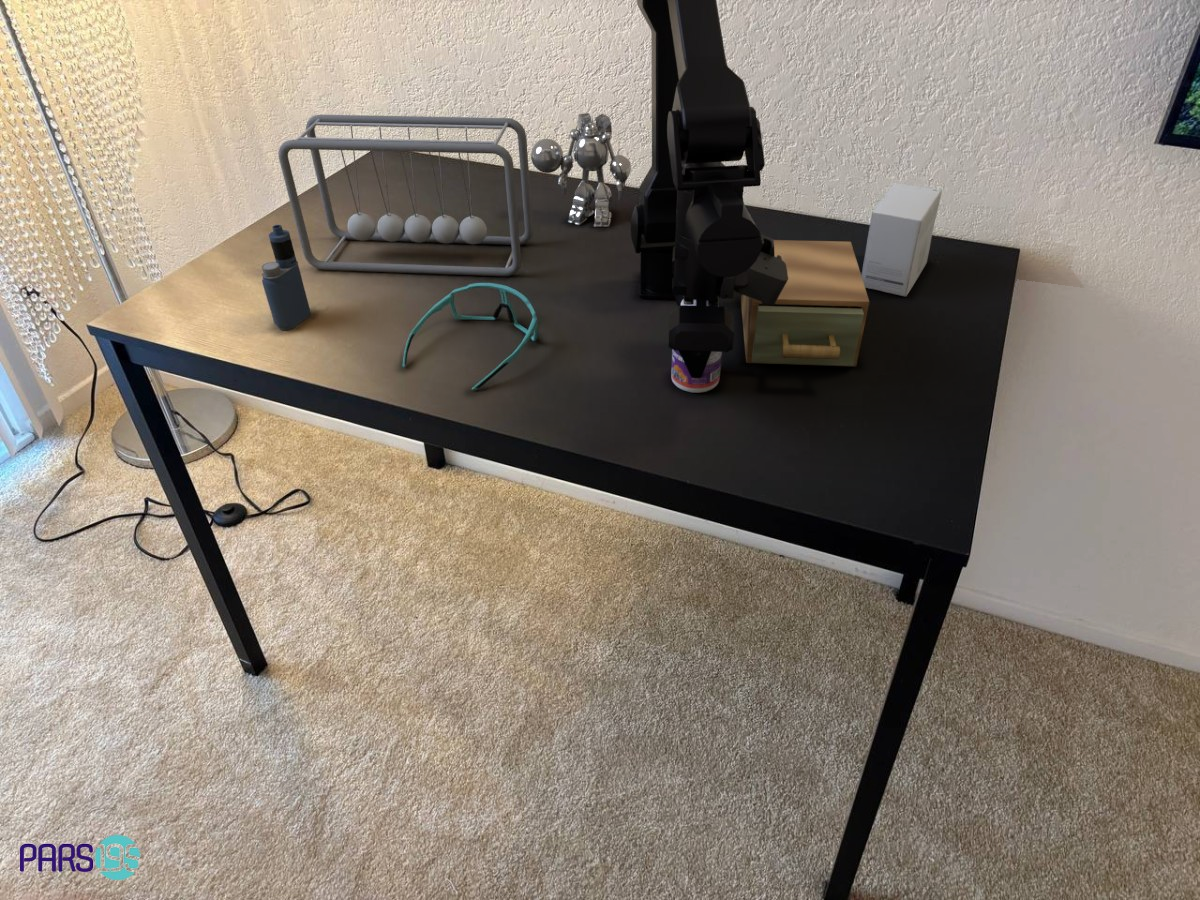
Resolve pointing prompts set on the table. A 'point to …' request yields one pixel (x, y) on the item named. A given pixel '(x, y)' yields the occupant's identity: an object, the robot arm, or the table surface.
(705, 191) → the robot arm
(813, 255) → the cabinet
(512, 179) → the newton's cradle
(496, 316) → the sunglasses
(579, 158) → the robot toy
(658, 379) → the table surface
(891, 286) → the cosmetics box
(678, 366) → the pill bottle
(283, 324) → the vaping device
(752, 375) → the table surface
